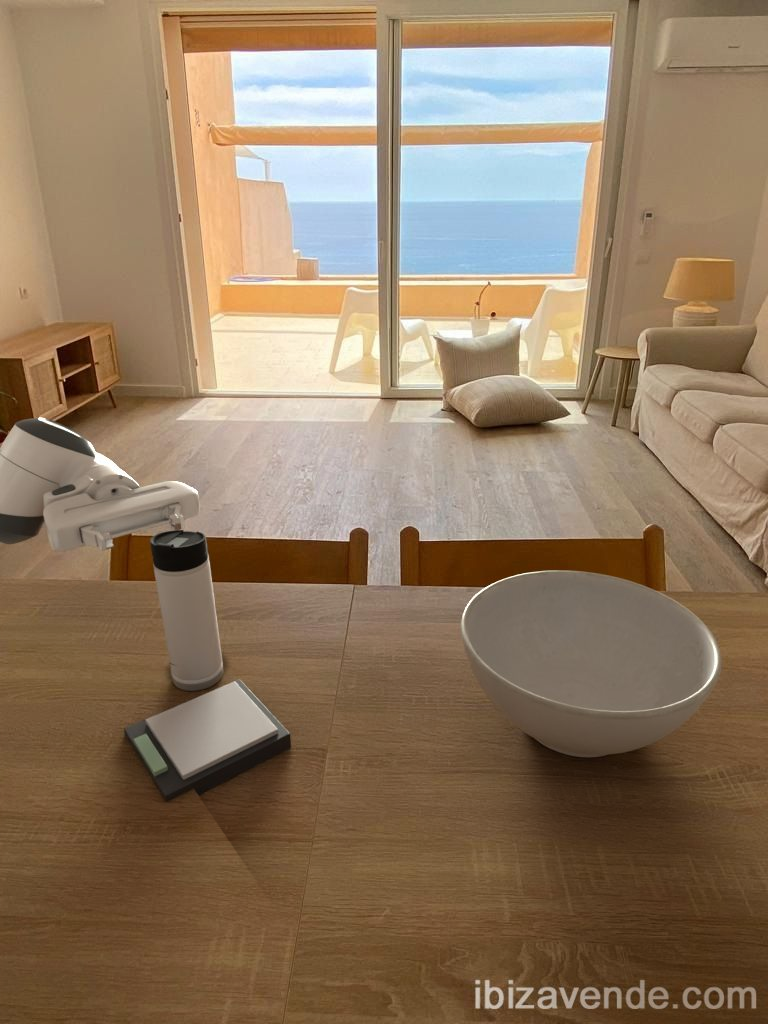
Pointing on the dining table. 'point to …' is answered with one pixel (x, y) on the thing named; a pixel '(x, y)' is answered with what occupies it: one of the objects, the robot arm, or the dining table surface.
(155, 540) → the travel mug
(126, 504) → the robot arm
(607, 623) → the decorative bowl
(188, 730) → the kitchen scale
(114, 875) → the dining table surface
